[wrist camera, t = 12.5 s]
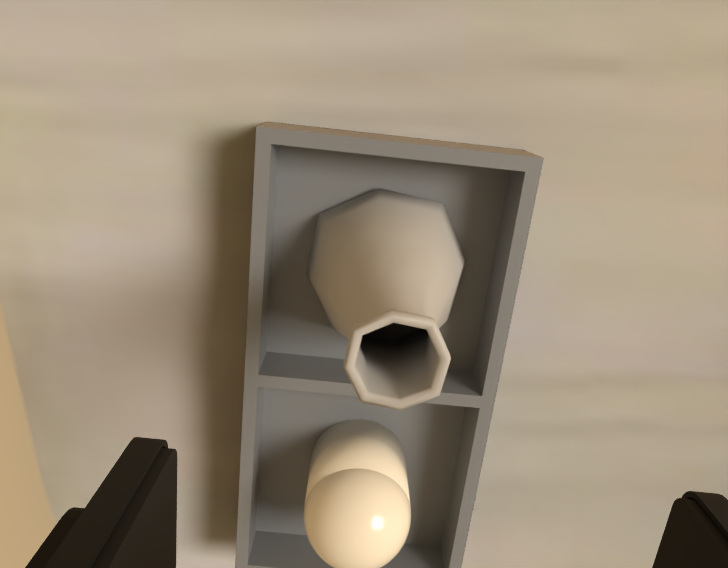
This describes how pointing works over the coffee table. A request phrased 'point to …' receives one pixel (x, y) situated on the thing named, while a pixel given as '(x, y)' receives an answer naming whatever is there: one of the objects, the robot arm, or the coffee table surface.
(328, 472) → the cream egg
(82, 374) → the coffee table surface
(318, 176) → the tray
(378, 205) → the flask
